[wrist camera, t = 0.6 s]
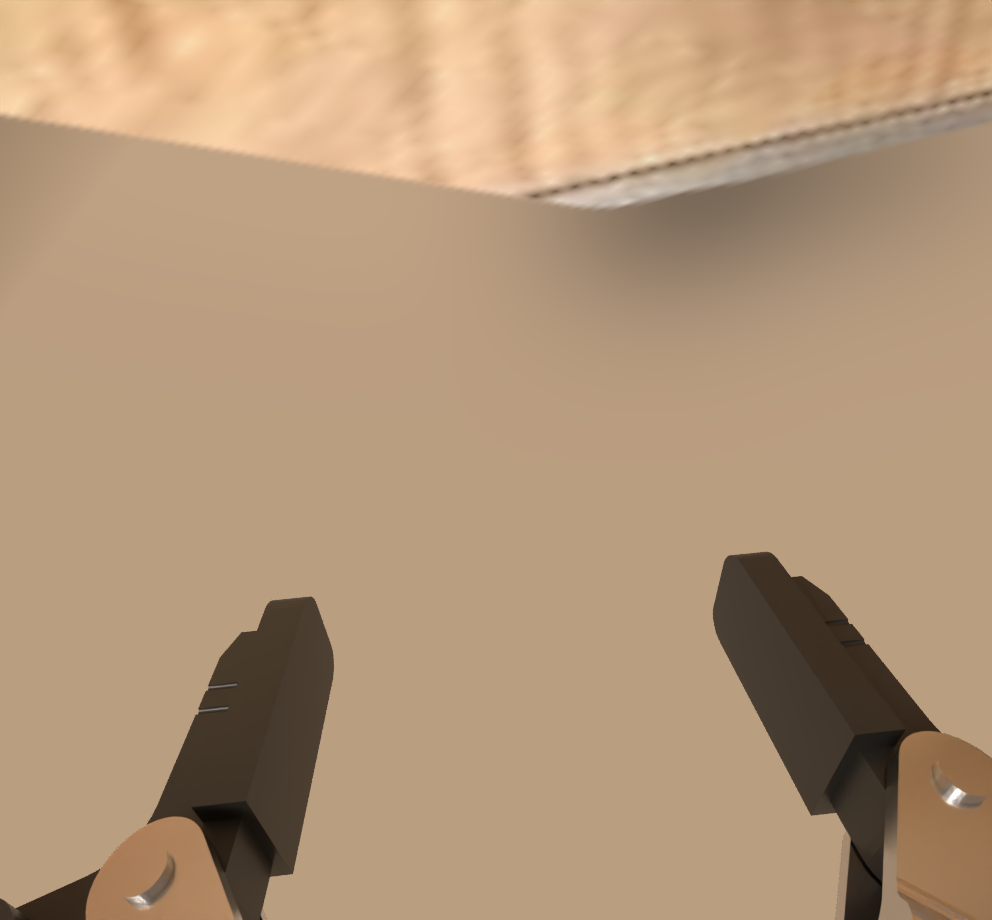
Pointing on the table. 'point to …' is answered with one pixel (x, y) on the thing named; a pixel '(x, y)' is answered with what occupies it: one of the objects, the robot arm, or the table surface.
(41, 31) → the table surface
